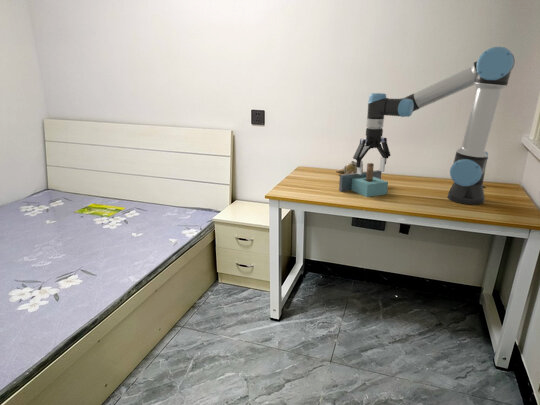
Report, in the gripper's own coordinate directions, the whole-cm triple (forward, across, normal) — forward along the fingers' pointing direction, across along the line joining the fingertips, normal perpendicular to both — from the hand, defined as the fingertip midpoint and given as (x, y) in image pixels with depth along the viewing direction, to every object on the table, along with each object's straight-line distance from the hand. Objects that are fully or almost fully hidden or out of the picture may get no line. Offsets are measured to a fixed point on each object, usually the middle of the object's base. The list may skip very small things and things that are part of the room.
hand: (370, 172), depth 189 cm
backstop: (+10, 0, +7) cm, 12 cm away
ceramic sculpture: (+10, +12, +30) cm, 34 cm away
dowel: (+10, 0, 0) cm, 10 cm away
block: (+10, 0, 0) cm, 10 cm away
